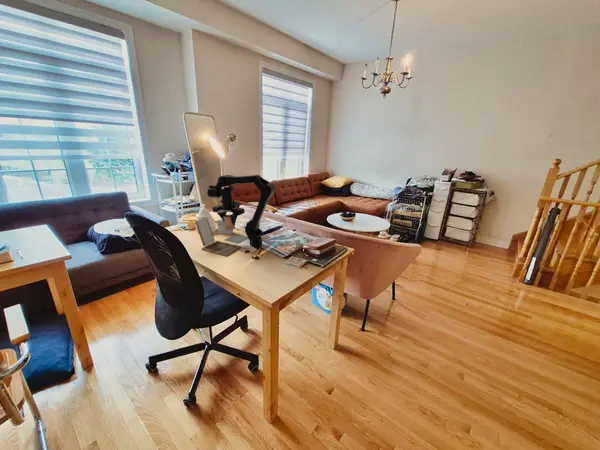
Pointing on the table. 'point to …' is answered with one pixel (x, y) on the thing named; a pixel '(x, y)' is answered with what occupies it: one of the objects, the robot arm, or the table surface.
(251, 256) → the table surface
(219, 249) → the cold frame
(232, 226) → the terracotta pot
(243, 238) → the slate tile
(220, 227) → the small box
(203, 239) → the propped lid
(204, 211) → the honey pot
